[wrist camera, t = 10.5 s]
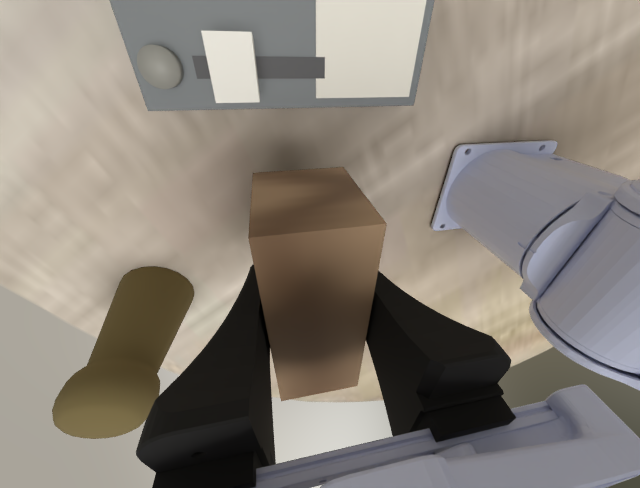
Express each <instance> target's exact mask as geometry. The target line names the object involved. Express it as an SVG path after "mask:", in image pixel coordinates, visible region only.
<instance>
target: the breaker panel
mask: <svg viewBox="0 0 640 488" xmlns="http://www.w3.org/2000/svg"><path fill="white" fill-rule="evenodd" d="M110 3H111V6H112V9H113V12H114V15H115V17H116V20H117V23H118V26H119V29H120V32H121V35H122V38H123V40H124V43H125V46H126V49H127V52H128V55H129V58H130V60H131V63H132V66H133V69H134V72H135V75H136V78H137V81H138V83H139V86H140V89H141V92H142V95H143V98H144V101H145V103H146V106H147V109H148V111H170V110H218V109H266V108H314V107H362V106H410V105H414V102H415V96H416V91H417V86H418V81H419V76H420V71H421V66H422V61H423V56H424V51H425V46H426V41H427V36H428V31H429V25H430V20H431V15H432V10H433V5H434V0H110Z"/></svg>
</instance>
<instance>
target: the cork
mask: <svg viewBox="0 0 640 488" xmlns="http://www.w3.org/2000/svg"><path fill="white" fill-rule="evenodd" d="M193 297H194V290H193V286H192V284H191V283H190V282H189V281H188V279H187V278H185V277H184V276H182V275H181V274H179V273H178V272H175V271H172V270H170V269H167V268H161V267H141V268H138V269H135V270H131V271H130V272H129V273H127V274H126V275H124V276H123V278H122V280H121V281H120V283H119V286H118V288H117V291H116V293H115V296H114V298H113V301H112V303H111V306H110V309H109V311H108V314H107V316H106V319H105V321H104V324H103V326H102V329H101V331H100V334H99V336H98V339H97V342H96V344H95V346H94V349H93V352H92V354H91V357H90V359H89V362H88V364H87V366H86V367H84V368H82V369H81V370H79V371H78V372H76V373H75V374H74V375H73V376H72V377H71V378H70V379H69V380H68V381H67V382H66V383H65V385H64V387H63V388H62V390H61V391H60V393H59V395H58V397H57V398H56V400H55V403H54V407H53V409H52V412H53V421H54V424H55V426H56V427H58V428H59V429H60V430H61V431H63V432H64V433H66V434H69V435H71V436H75V437H80V438H91V439H96V438H97V439H98V438H109V437H116V436H119V435H123V434H126V433H128V432H130V431H132V430H134V429H136V428H138V427H139V426H140V425H141V424H142V423H143V422H144V421H145V420H146V419H147V417H148V415H149V413H150V410H151V408H152V406H153V404H154V401H155V399H156V398H157V397H159V390H160V380H159V377H158V375H157V373H158V371H159V369H160V367H161V365H162V363H163V360H164V358H165V356H166V354H167V352H168V350H169V348H170V346H171V344H172V342H173V340H174V338H175V336H176V334H177V332H178V329H179V327H180V325H181V323H182V321H183V319H184V317H185V315H186V313H187V311H188V309H189V307H190V305H191V303H192V300H193Z"/></svg>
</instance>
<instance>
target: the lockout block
mask: <svg viewBox="0 0 640 488" xmlns="http://www.w3.org/2000/svg"><path fill="white" fill-rule="evenodd" d="M385 230H386V222H385V221H384V220H383V218H382V217H381V216H380V214H379V213H378V212H377V211H376V209H375V208H374V207H373V205H372V204H371V203H370V201H369V200H368V199H367V197H366V196H365V195H364V194H363V192H362V191H361V190H360V188H359V187H358V186H357V184H356V183H355V182H354V180H353V179H352V178H351V177H350V175H349V174H348V173H347V171H346V170H345V169H344V167H336V168H320V169H305V170H290V171H274V172H259V173H253V180H252V194H251V208H250V223H249V237H248V238H249V243H250V248H251V253H252V258H253V263H254V268H255V273H256V278H257V283H258V288H259V293H260V298H261V303H262V308H263V313H264V318H265V323H266V328H267V333H268V338H269V343H270V348H271V353H272V358H273V363H274V368H275V373H276V378H277V383H278V388H279V393H280V398H281V401H284V400H289V399H294V398H299V397H304V396H309V395H314V394H319V393H324V392H329V391H334V390H339V389H344V388H349V387H354V386H357V385H358V379H359V374H360V368H361V363H362V357H363V352H364V346H365V341H366V335H367V330H368V324H369V319H370V313H371V308H372V302H373V296H374V291H375V285H376V280H377V274H378V269H379V263H380V258H381V252H382V247H383V241H384V236H385Z"/></svg>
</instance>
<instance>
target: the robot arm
mask: <svg viewBox="0 0 640 488" xmlns="http://www.w3.org/2000/svg"><path fill="white" fill-rule="evenodd" d="M540 146H541V147H540ZM556 147H557V141H553V140H543V141H522V142H502V143H481V144H461V145H459V146H457V147H456V148H455V150H454V153H453V156H452V160H451V163H450V166H449V169H448V173H447V176H446V179H445V182H444V185H443V189H442V192H441V195H440V198H439V202H438V205H437V208H436V211H435V215H434V218H433V221H432V224H431V228H432V229H433V230H434V231H440V230H449V229H459V228H463V229H464V230H465V231H467V232H468V233H469V234H470V235H471V236H473V237H474V238H475V239H476V240H477V241H479V242H480V243H481V244H482V245H483V246H485V247H486V248H487V249H488V250H489V251H491V252H492V253H493V254H494V255H495V256H497V257H498V258H499V259H500V260H501V261H503V262H504V263H505V264H506V265H507V266H509V267H510V268H511V269H512V270H513V271H515V272H516V273H517V274H518V275H519V276H521V277H522V278H523V283H522V285H521V287H520V289H521V290H522V291H523V292H524V293H525V294H527V295H528V296H529V297H530V298H531V299H532V301H531V303H530V307H529V312H530V316H531V319H532V321H533V323H534V324H535V326H536V327H537V329H538V330H539V331H540V333H541V334H542V335H543V336H544V337H545V338H546V339H547V340H548V341H549V342H550V343H551V344H552V345H553V346H554V347H555V348H556V349H557V350H559V351H560V352H561V353H563V354H564V355H565V356H567V357H568V358H570V359H571V360H573V361H575V362H576V363H578V364H580V365H582V366H584V367H586V368H588V369H590V370H592V371H594V372H596V373H598V374H601V375H604V376H606V377H609V378H611V379H614V380H617V381H620V382H622V383H624V384H627V385H629V386H631V387H633V388H635V389H638V390H639V391H640V179H638V180H632V181H631V180H629V179H627V178H625V177H622V176H620V175H617V174H613V173H610V172H607V171H604V170H601V169H598V168H595V167H592V166H589V165H585V164H582V163H579V162H576V161H573V160H570V159H567V158H564V157H561V156H557V155H554V154H553V153H554V151H555V149H556ZM467 149H468V151H467V152H466V153H465V151H466V150H467ZM441 225H442V226H441ZM366 342H367V344H368V347H369V350H370V354H371V357H372V360H373V363H374V367H375V370H376V374H377V377H378V381H379V384H380V388H381V392H382V395H383V399H384V403H385V406H386V410H387V415H388V419H389V422H390V426H391V431H392V435H393V437H389V438H385V439H381V440H376V441H372V442H368V443H363V444H359V445H355V446H351V447H346V448H342V449H338V450H334V451H329V452H325V453H321V454H317V455H313V456H309V457H304V458H300V459H296V460H291V461H287V462H283V463H279V464H276V463H275V447H274V432H273V418H272V417H273V416H272V400H271V399H272V398H271V379H270V343H269V338H268V333H267V328H266V323H265V318H264V313H263V308H262V303H261V298H260V293H259V288H258V283H257V278H256V273H255V268H254V265H252V266H251V267H250V271H249V273H248V276H247V279H246V281H245V283H244V286H243V288H242V290H241V292H240V294H239V296H238V298H237V300H236V302H235V303H234V305H233V307H232V309H231V310H230V312H229V314H228V315H227V317H226V319H225V320H224V322H223V323H222V325H221V326H220V328H219V329H218V331H217V332H216V333H215V335H214V336H213V337H212V339H211V340H210V341H209V343H208V344H207V345H206V346H205V348H204V349H203V350H202V351H201V353H200V354H199V355H198V356H197V357H196V358H195V359H194V360H193V362H192V363H191V364H190V365H189V366H188V367H187V368H186V369H185V371H184V372H183V373H182V374H181V375H180V376H179V377H178V378H177V379H176V380H175V381H174V382H173V383H172V384H171V385H170V386H169V387H168V388H167V389H166V390H165V391H164V392H163V393H162V394H161V395H160V396H159V397H157V398H156V399H155V401H154V404H153V406H152V408H151V410H150V413H149V415H148V417H147V419H146V422H145V425H144V428H143V431H142V434H141V437H140V440H139V444H138V447H137V450H136V455H137V457H138V458H139V459H140V460H141V462H143V463H144V464H145V465H147V466H148V467H150V468H151V469H152V470H154V471H155V472H156V475H155V480H154V483H153V487H152V488H311V487H315V486H319V485H322V486H321V487H320V488H605V487H608V486H612V485H614V484H617V483H620V482H622V481H625V480H628V479H630V478H633V477H635V476H638V475H640V438H639V437H638V436H637V435H636V434H635V433H634V432H633V431H632V430H631V429H630V428H629V427H628V426H627V425H626V424H625V423H624V422H623V421H622V420H621V419H620V418H619V417H618V416H617V415H616V414H615V413H614V412H613V411H612V410H611V409H610V408H609V407H608V406H606V404H605V403H604V402H603V401H602V400H601V399H600V398H599V397H598V396H597V395H596V394H595V393H594V392H593V391H592V390H591V389H590V388H589V387H588V386H587V385H584V384H581V385H577V386H572V387H568V388H564V389H561V390H558V391H556V392H553V393H552V394H551V395H549V396H548V397H547V398H546V401H542V402H537V403H533V404H529V405H525V406H520V407H516V408H512V409H510V408H509V407H508V405H507V404H506V402H505V401H504V400H503V398H502V397H501V395H503V394H504V393H503V390H502V389H501V388H500V386H499V385H498V382H499V380H500V379H501V378H502V377H503V376H504V374H505V373H506V372H507V371H508V369H509V368H510V364H511V359H510V357H509V356H508V355H507V354H506V352H505V351H504V350H503V349H502V348H501V346H500V345H499V344H498V343H497V342H496V341H495V339H494V338H493V337H492V336H489V335H487V334H484V333H482V332H479V331H477V330H474V329H472V328H469V327H467V326H465V325H462V324H460V323H458V322H456V321H454V320H452V319H450V318H448V317H446V316H444V315H442V314H440V313H438V312H436V311H435V310H433V309H431V308H429V307H427V306H426V305H424V304H422V303H421V302H419V301H418V300H416V299H414V298H413V297H411V296H410V295H408V294H407V293H406V292H404V291H403V290H401V289H400V288H399V287H397V286H396V285H395V284H393V283H392V282H391V281H390V280H389V279H387V278H386V277H385V276H384V275H383V274H382V273H380V272H379V271H378V274H377V280H376V285H375V291H374V296H373V302H372V308H371V313H370V319H369V324H368V330H367V335H366ZM323 484H324V485H323Z"/></svg>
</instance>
